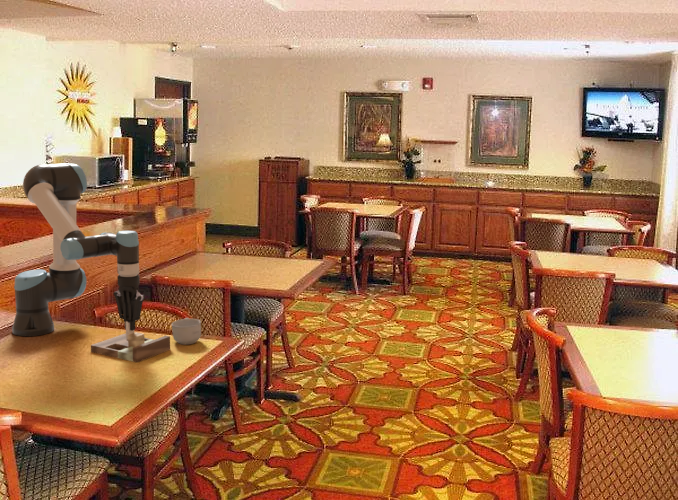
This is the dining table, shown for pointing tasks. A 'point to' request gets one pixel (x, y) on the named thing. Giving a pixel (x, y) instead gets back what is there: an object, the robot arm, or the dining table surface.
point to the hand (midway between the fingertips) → (130, 338)
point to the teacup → (186, 331)
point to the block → (135, 339)
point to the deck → (131, 348)
